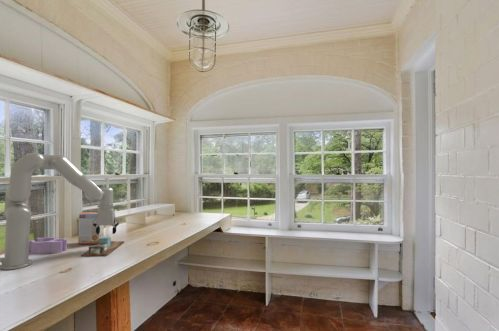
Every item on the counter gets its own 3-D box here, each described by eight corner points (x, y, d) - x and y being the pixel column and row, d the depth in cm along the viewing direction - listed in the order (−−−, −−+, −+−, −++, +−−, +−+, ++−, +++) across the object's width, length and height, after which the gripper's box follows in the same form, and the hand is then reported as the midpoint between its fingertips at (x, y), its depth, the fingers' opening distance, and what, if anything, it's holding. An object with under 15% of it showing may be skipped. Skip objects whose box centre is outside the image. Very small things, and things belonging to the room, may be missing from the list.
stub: (98, 248, 165) (99, 238, 165) (102, 246, 170) (102, 236, 170) (107, 248, 166) (107, 238, 166) (110, 246, 171) (110, 236, 171)
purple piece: (71, 248, 167) (71, 237, 167) (56, 255, 155) (56, 243, 155) (41, 247, 168) (41, 236, 168) (23, 253, 156) (24, 242, 156)
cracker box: (103, 242, 182) (104, 212, 183) (98, 244, 176) (99, 213, 177) (83, 241, 182) (84, 211, 183) (77, 244, 176) (79, 213, 176)
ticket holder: (81, 256, 153) (81, 247, 153) (102, 242, 181) (103, 235, 181) (106, 256, 155) (106, 247, 155) (124, 242, 183) (124, 235, 183)
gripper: (89, 208, 164) (89, 235, 164) (118, 207, 166) (117, 234, 166) (94, 206, 171) (94, 232, 171) (122, 206, 173) (122, 231, 173)
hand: (106, 233), depth 168 cm, fingers open, 9 cm apart
